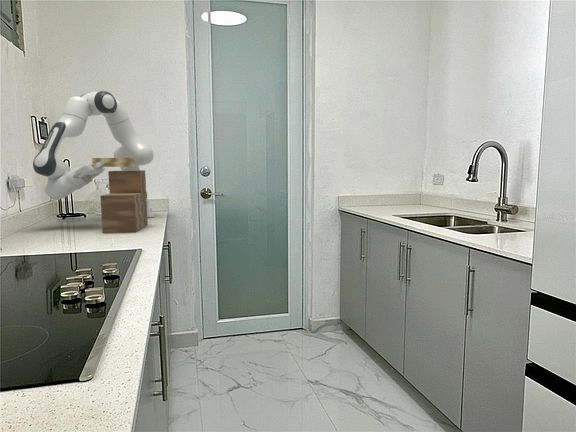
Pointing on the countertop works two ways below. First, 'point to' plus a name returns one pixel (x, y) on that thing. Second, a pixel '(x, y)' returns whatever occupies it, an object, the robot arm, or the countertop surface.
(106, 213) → the step shelf
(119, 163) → the tan rectangular block
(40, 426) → the countertop surface
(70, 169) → the robot arm
